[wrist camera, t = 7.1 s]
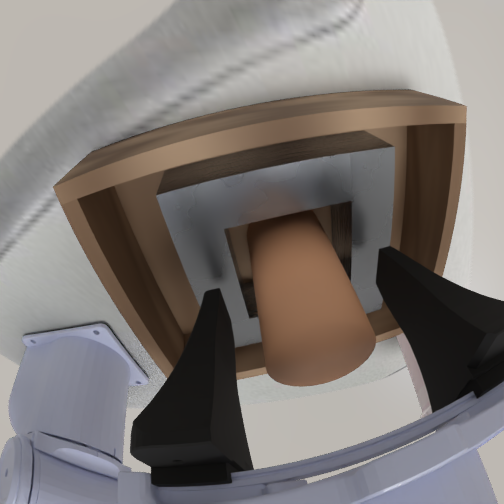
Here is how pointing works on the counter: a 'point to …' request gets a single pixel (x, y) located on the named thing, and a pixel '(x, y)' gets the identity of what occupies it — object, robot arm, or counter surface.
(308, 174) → the socket plate
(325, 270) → the peg
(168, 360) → the socket box
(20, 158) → the counter surface
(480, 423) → the robot arm
